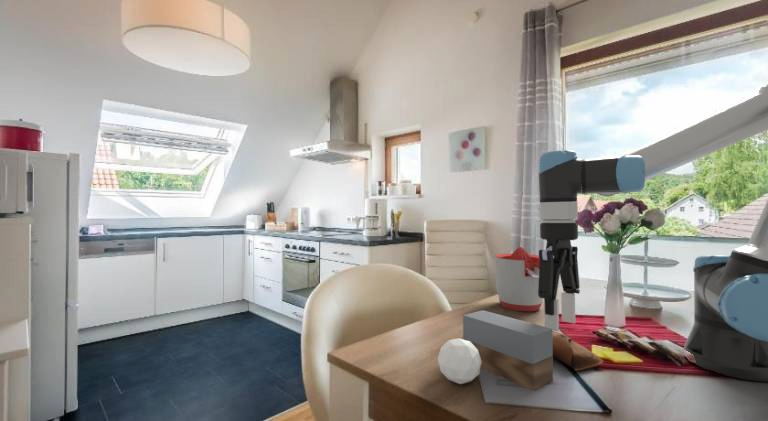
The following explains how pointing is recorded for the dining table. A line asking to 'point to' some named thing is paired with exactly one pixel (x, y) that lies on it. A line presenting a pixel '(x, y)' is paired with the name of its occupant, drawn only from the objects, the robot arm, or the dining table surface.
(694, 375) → the dining table surface
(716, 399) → the dining table surface
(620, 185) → the robot arm
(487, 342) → the tower top block
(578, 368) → the sunglasses case
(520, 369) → the tower base block
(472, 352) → the geometric ball
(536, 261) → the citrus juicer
